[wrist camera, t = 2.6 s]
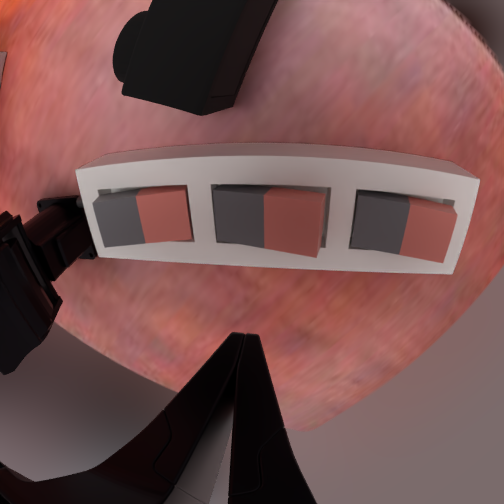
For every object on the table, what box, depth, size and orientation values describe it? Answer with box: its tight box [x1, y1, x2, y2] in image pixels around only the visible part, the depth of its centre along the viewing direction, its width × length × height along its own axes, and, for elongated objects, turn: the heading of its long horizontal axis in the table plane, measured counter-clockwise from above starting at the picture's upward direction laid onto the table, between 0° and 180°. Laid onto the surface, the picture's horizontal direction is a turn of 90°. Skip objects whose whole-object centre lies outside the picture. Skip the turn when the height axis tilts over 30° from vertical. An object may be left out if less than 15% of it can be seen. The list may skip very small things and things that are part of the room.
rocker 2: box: [213, 184, 326, 258], centre depth 16 cm, size 6×3×1 cm, turn 92°
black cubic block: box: [113, 0, 278, 116], centre depth 11 cm, size 10×5×7 cm, turn 159°
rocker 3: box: [351, 189, 458, 263], centre depth 15 cm, size 6×3×1 cm, turn 92°
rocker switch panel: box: [75, 143, 480, 274], centre depth 18 cm, size 29×7×4 cm, turn 92°
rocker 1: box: [92, 185, 193, 248], centre depth 17 cm, size 6×3×1 cm, turn 92°
